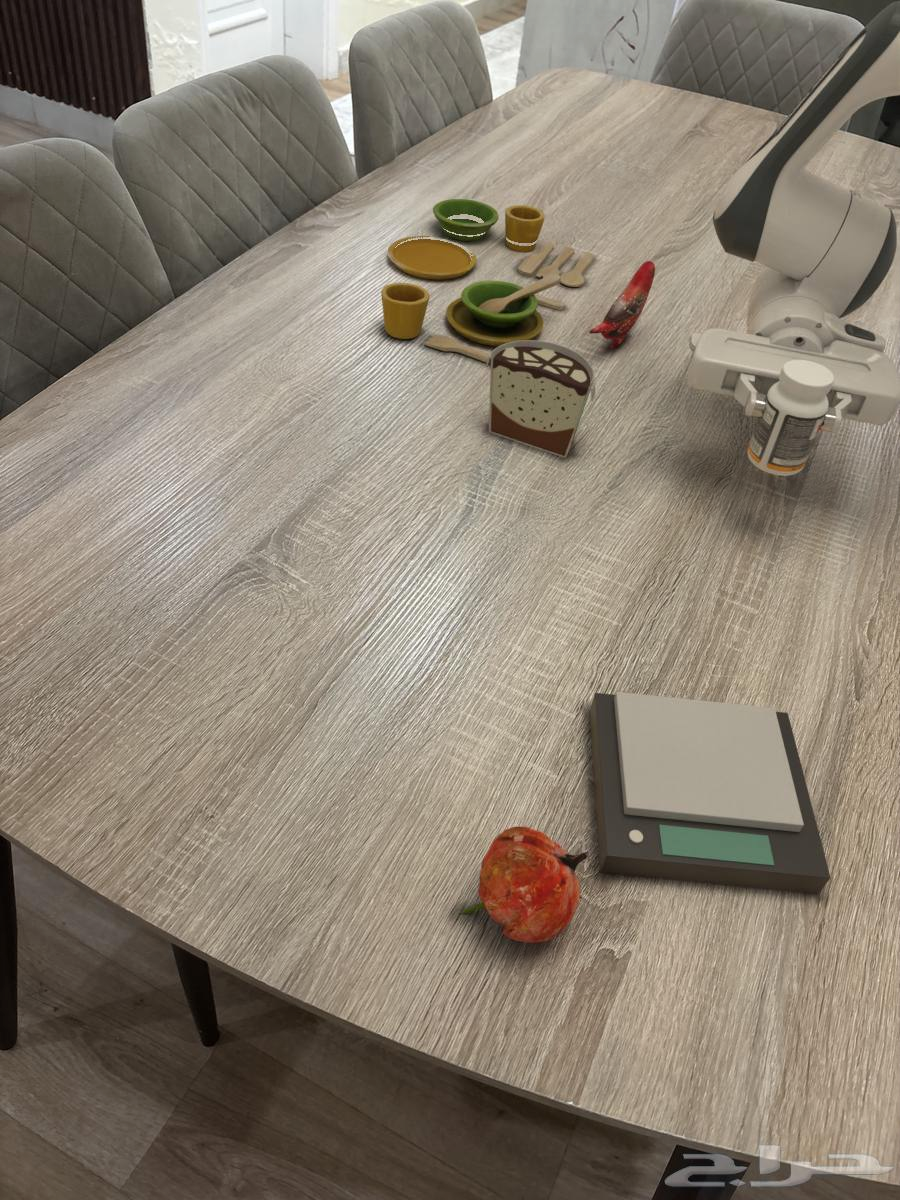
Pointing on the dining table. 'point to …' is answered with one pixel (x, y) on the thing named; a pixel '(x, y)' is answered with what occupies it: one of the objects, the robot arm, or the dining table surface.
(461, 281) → the dining table surface
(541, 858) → the pomegranate
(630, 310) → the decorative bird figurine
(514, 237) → the tableware set
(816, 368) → the pill bottle
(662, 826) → the kitchen scale
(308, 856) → the dining table surface
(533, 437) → the cake slice cutout
